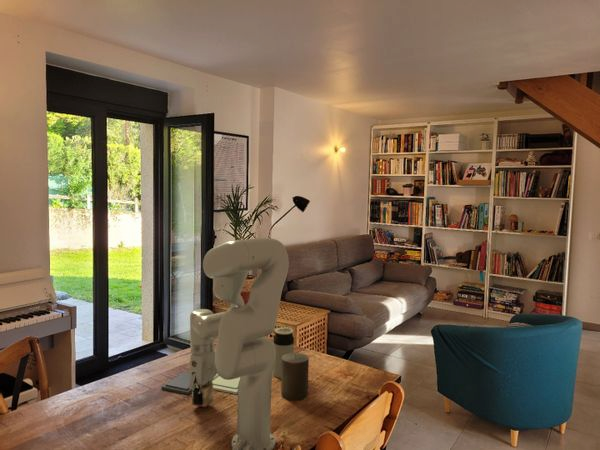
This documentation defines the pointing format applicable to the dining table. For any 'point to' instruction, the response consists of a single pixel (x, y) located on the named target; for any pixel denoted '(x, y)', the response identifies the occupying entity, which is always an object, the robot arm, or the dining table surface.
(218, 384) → the board
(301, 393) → the pillar candle
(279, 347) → the travel mug
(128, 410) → the dining table surface
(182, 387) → the grey flat block
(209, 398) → the stamp
